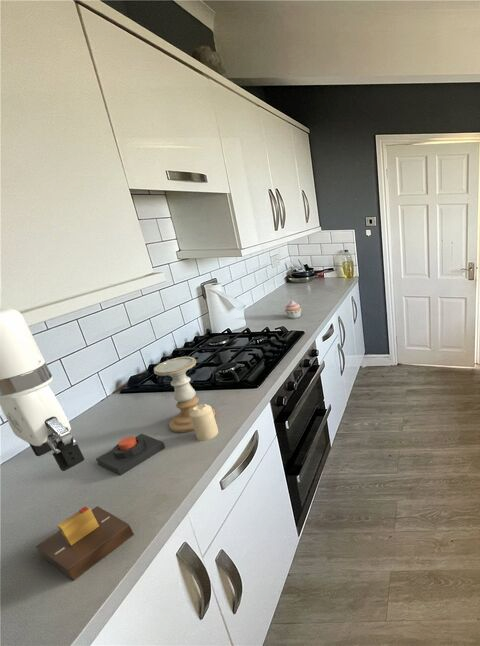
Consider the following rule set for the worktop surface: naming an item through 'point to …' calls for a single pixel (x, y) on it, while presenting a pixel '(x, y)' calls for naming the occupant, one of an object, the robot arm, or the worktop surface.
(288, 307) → the cupcake
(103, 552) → the brown wooden base
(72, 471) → the worktop surface
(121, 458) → the block
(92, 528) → the lock knob
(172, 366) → the candle holder
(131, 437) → the release button
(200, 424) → the candle
